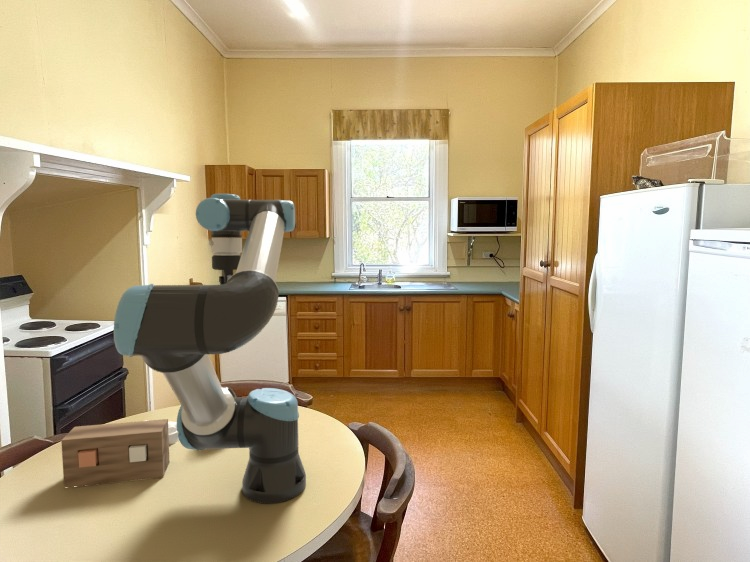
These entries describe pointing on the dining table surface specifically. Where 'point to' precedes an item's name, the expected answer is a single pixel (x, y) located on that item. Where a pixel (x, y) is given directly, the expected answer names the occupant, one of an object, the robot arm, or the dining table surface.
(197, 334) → the robot arm
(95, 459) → the terracotta key
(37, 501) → the dining table surface
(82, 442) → the key console
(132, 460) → the ivory key
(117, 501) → the dining table surface
